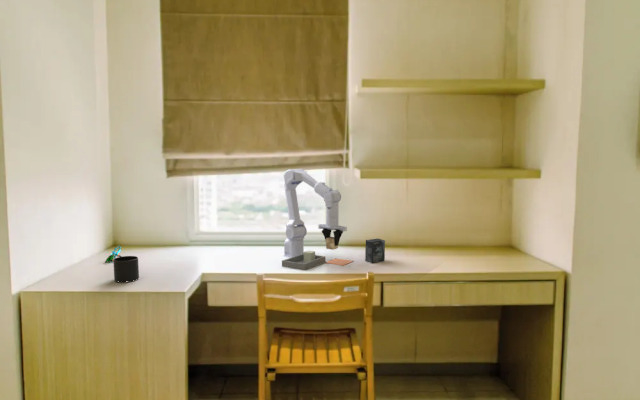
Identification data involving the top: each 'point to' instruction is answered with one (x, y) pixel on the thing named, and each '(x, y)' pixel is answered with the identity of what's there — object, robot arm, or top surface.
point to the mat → (339, 262)
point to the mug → (126, 268)
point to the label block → (330, 243)
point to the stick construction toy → (114, 254)
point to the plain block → (309, 256)
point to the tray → (302, 262)
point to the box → (375, 250)
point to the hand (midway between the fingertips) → (332, 245)
